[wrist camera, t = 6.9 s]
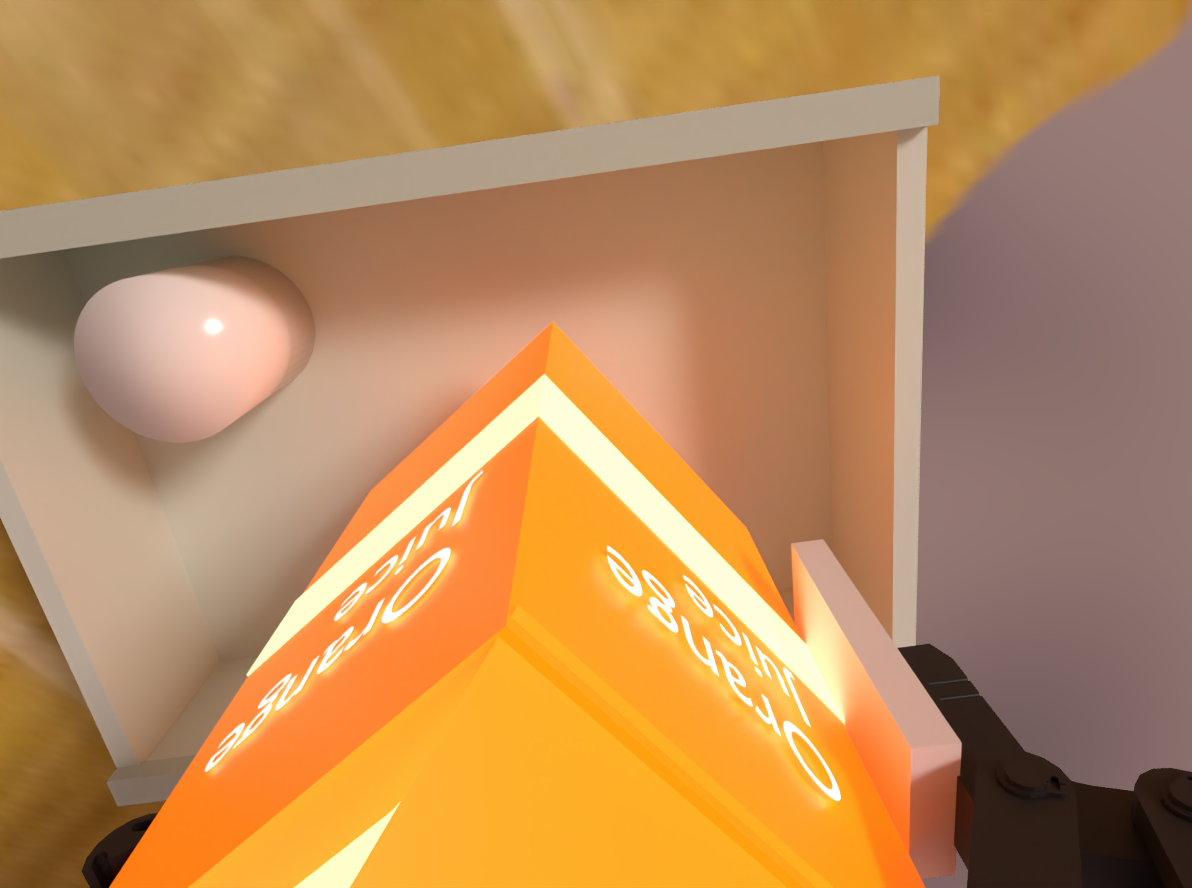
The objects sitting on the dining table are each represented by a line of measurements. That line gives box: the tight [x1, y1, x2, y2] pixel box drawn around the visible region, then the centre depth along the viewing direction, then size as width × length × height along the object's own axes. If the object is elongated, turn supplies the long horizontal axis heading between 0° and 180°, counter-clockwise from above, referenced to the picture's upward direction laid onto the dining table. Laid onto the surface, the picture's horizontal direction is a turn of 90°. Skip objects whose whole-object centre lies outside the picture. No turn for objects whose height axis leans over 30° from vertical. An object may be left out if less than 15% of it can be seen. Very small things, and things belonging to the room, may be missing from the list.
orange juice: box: [109, 322, 925, 888], centre depth 12 cm, size 8×9×20 cm
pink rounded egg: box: [74, 256, 315, 443], centre depth 21 cm, size 4×4×5 cm
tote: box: [0, 76, 940, 807], centre depth 22 cm, size 25×17×7 cm
